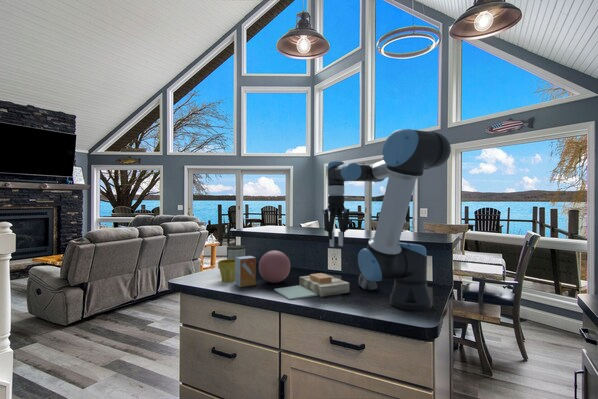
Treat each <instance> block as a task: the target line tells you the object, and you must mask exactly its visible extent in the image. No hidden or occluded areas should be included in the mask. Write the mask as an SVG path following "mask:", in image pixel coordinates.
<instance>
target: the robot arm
mask: <svg viewBox="0 0 598 399" xmlns="http://www.w3.org/2000/svg"><path fill="white" fill-rule="evenodd" d="M451 146H452V145H451V143H450V141H449V139H448V138H447V137H446V136H445V135H444V134H442V133H441V132H440V133H439V132H437V131H427V130H426V131H425V130H418V129H410V128H407V129H403V128H401V129H397V130H394V131H392V132H391V134H389V135H388V136H387V138H386V139H385V142H384V144H383V146H382V151H381V152H382V156H383V157H382V160H379V161H377V162H374V163H372V164H362V163H356V162H347V163H344V161H342V160H333V161H329V162H328V163H327V195H328V196H327V204H328V206H327V208H325V209H324V208H323V209H322V210H321V211H322V214H323V227H324V228H323V230H324V231H325V232H327V234H328V235H327V236H328V237H327V238H328V240H329V247H331V248H335V232H333V231H334V227H335V226H334V225H335V219H336V218H337V221H338V222H337V223H338V227H339V231H338V236H337V237H338V238H337V239H338V244H337V245H338V246H339V247H344V239H345V232H346V231H348V230H349V213H350V208H347V207H345V196H344V195H345V182H374V183H378V182H380V183H381V182H384V180H386V179H387V181H386V182H387V183H386V187H385V190H384V194H383V195H384V196H383V200H382V204H381V207H380V211H379V216H378V218H377V219H378V221H377V224H376V228H375V233H374V237H371V238H370V239H368V243H367V245H366V246H367V247H364V248H362V249H360V251H359V252H358V255H357V262H358V263H357V264H358V268H359V270H360V272H361V273H362V274H363V276H364V277H365V278H366V279H367V280H369V281H376V282H381V281H388V280H394V281H393V282H394V284H393V285H392V290H391V294H390V295H389V303H390V305H391V306H393V307H395V308H398V309H401V310H406V311H407V310H408V311H417V312H419V311H426V310H431V309H432V307H433V299H432V297H431V295H430V292H429V291H430V290H429V287H428V282H427V280H428V279H427V273H428V256H427V248H426V247H425V246H424V245H421V244H416V243H409V242H401V241H400V240H401V236H402V232H403V229H404V226H405V221H406V217H407V215H408V214H407V213H408V212H409V206H410V203H411V200H412V195H413V192H414V189H415V186H416V181H417V180H418V179H420V178H422V177H423V174H424V171H425V170H430V169H434V168H435V169H436V168H438V167H441V166H442V165H444V164H445V163H447V161H448V159H449V158H450V156H451V153H452V147H451ZM361 273H360V274H361Z"/></svg>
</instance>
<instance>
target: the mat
mask: <svg viewBox="0 0 598 399" xmlns="http://www.w3.org/2000/svg"><path fill="white" fill-rule="evenodd" d="M273 289H274V290H273V291H274V292H277V293H278V294H279V295H281V296H282V297H283V298H284V297H285V299H287V300H288V301H293V300H297V299H304V298H312V297H318V296H319V295H318V294H317V293H315V292H313V291H311V290H309V289H307V288H305V287H303V286H301V285H300V284H299V285H292V286H287V287H286V286H284V287H279V288H273Z"/></svg>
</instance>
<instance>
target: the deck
mask: <svg viewBox="0 0 598 399" xmlns="http://www.w3.org/2000/svg"><path fill="white" fill-rule="evenodd" d="M324 274H325V275H328V276H330V277H332V282H325V283H318V282H316V281H314V280H311V279H310V275H304V276H299V285H301V286H303V287H305V288H307V289H309V290H311V291H313V292H315V293H317V294H318V296H319V297H322V298H323V297H327V296H336V295H341V294H342V295H343V294H347V293H350V282H348V281H345V280H342V279H340V278H337V277H334V276H332V275H329V274H327V273H324Z"/></svg>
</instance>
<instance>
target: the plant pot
mask: <svg viewBox="0 0 598 399" xmlns="http://www.w3.org/2000/svg"><path fill="white" fill-rule="evenodd" d="M217 267H218V269H219V272H220V277H221V281H222V282H224V283H229V282H230V283H231V282H235V259H227V258H226V259H222V260H218V261H217Z"/></svg>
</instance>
